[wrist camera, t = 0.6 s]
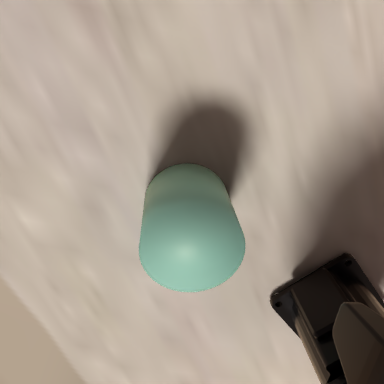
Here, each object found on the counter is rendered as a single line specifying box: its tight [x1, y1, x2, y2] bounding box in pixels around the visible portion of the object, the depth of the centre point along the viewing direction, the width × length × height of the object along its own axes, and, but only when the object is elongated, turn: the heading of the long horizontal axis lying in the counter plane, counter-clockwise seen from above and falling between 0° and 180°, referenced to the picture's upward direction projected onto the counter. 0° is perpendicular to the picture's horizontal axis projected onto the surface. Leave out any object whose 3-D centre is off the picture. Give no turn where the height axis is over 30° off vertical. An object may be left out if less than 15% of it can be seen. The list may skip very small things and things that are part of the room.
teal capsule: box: [139, 163, 245, 292], centre depth 18 cm, size 5×5×5 cm
